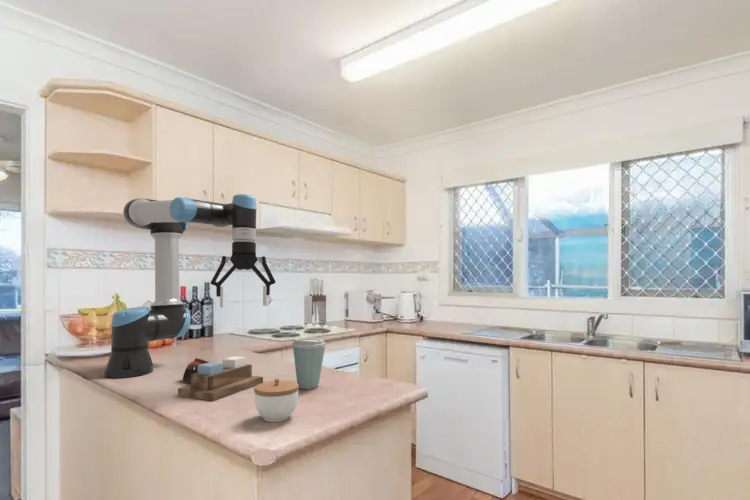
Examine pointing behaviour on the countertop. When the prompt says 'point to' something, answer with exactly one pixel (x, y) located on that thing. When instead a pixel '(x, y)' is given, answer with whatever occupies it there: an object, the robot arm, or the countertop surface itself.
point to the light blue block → (210, 368)
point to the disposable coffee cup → (308, 361)
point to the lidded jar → (276, 399)
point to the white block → (234, 362)
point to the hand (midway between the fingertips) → (243, 306)
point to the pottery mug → (190, 370)
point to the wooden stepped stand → (220, 383)
